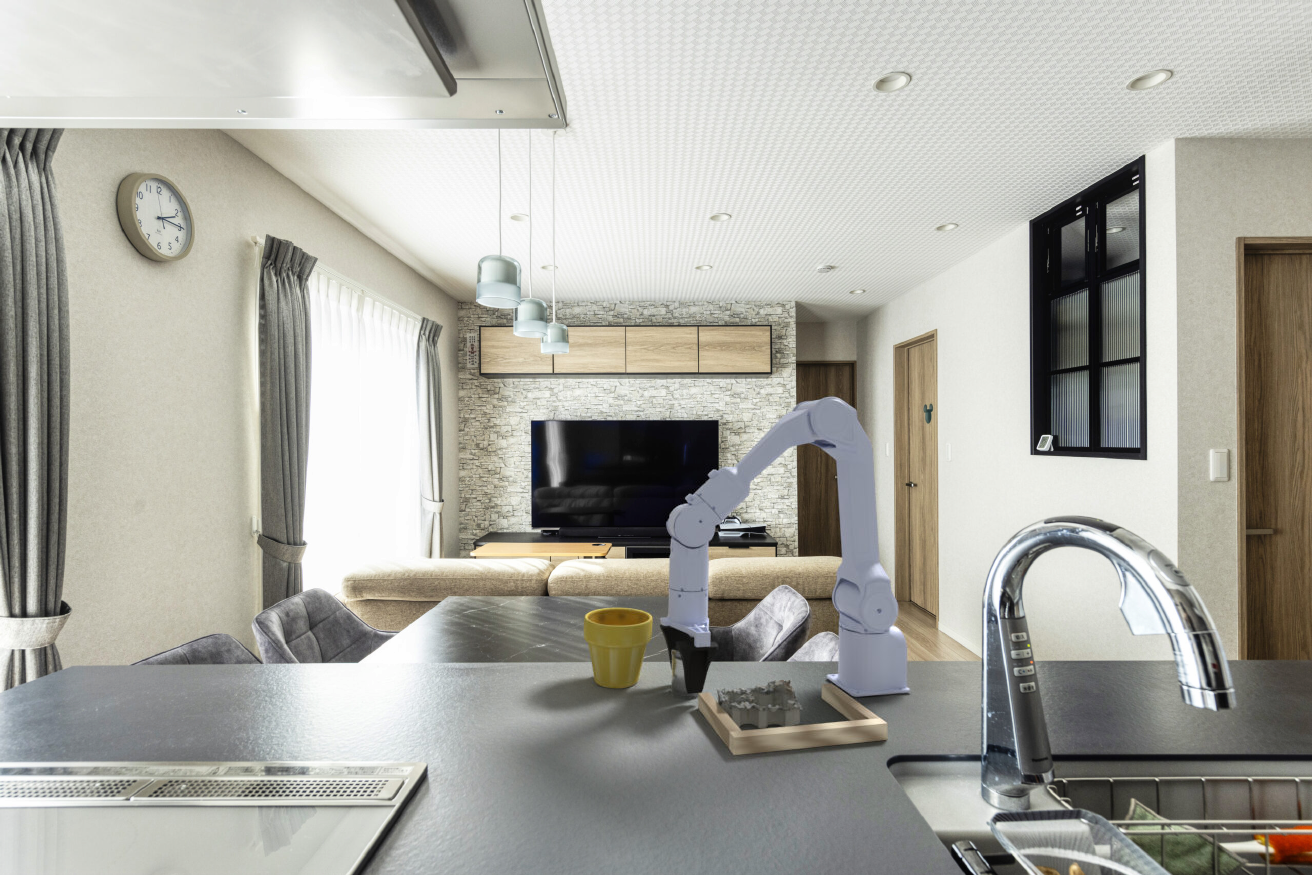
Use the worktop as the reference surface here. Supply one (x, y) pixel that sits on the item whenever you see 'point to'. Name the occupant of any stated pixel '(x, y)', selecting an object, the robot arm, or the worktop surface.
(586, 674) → the worktop surface
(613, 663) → the plant pot
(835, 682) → the robot arm
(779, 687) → the egg carton
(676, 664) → the jar with metallic lid
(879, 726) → the beech bay
